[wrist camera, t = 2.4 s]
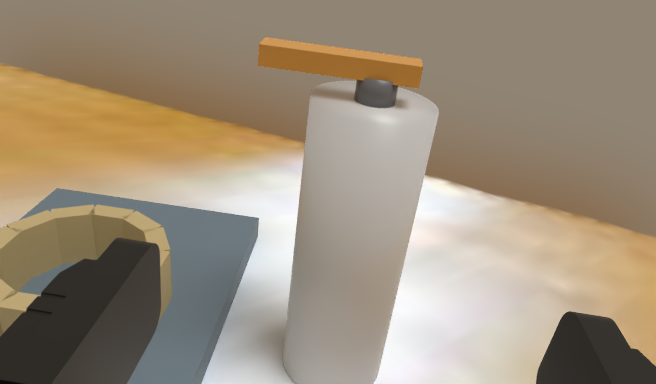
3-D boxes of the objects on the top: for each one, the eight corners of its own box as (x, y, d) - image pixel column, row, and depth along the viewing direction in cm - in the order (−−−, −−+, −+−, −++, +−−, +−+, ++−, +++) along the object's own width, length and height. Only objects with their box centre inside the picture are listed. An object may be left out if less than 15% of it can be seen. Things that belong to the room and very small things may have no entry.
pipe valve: (379, 331, 29) (441, 51, 21) (379, 407, 24) (457, 86, 17) (255, 313, 29) (274, 27, 21) (233, 384, 24) (247, 56, 17)
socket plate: (257, 236, 35) (261, 179, 33) (137, 549, 18) (128, 470, 16) (59, 207, 36) (50, 148, 34) (-249, 486, 18) (-311, 400, 16)
